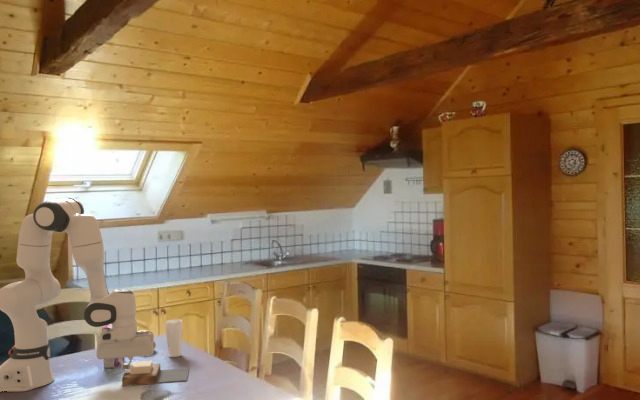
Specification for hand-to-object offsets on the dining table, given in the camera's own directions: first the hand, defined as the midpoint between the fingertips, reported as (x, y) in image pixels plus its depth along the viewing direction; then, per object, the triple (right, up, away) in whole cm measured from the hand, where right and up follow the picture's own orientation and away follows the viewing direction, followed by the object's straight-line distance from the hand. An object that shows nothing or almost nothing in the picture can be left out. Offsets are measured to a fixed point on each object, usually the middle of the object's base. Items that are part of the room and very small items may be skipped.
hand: (126, 368), depth 214 cm
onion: (-3, -4, +35) cm, 35 cm away
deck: (+6, -4, +1) cm, 7 cm away
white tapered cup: (+11, -3, +28) cm, 31 cm away
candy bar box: (-12, -4, +20) cm, 23 cm away
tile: (+6, -1, +1) cm, 6 cm away
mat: (+17, -4, +3) cm, 18 cm away
